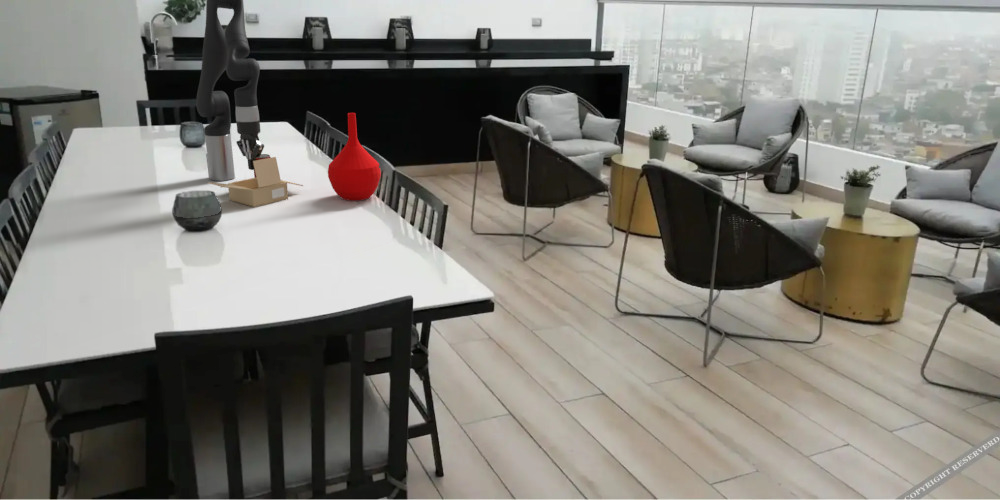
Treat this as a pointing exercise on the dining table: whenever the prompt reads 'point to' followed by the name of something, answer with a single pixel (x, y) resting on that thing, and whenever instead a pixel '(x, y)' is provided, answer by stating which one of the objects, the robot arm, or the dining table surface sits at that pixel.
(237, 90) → the robot arm
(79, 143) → the dining table surface
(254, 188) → the carton
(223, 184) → the right flap
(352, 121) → the vase
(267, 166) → the front flap
